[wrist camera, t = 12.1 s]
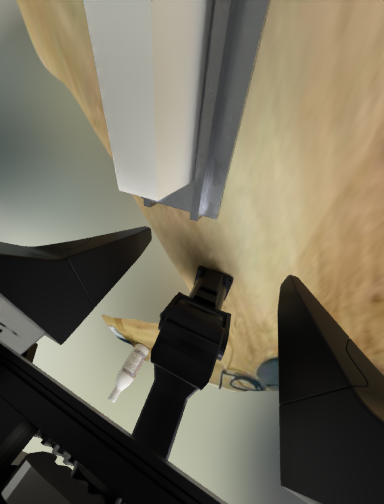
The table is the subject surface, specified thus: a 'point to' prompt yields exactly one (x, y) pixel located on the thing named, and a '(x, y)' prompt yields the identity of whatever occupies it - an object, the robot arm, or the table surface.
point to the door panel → (151, 87)
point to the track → (221, 103)
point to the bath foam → (129, 370)
